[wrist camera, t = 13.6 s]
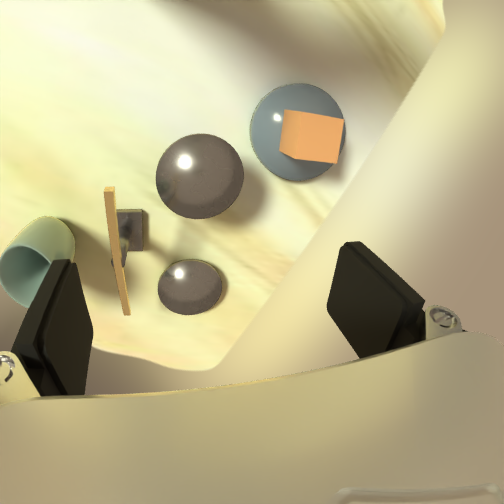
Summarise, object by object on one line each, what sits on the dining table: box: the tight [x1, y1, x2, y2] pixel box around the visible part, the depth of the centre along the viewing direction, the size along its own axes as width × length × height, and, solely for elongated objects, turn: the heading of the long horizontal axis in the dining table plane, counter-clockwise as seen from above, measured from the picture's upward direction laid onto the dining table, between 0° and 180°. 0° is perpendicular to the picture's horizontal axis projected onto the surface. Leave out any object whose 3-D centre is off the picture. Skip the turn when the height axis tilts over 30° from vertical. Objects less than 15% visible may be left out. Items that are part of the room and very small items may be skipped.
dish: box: [250, 84, 345, 181], centre depth 35 cm, size 12×12×1 cm
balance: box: [104, 134, 244, 315], centre depth 33 cm, size 24×14×11 cm, turn 173°
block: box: [279, 109, 344, 164], centre depth 33 cm, size 5×5×5 cm
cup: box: [0, 216, 75, 308], centre depth 29 cm, size 8×8×10 cm
